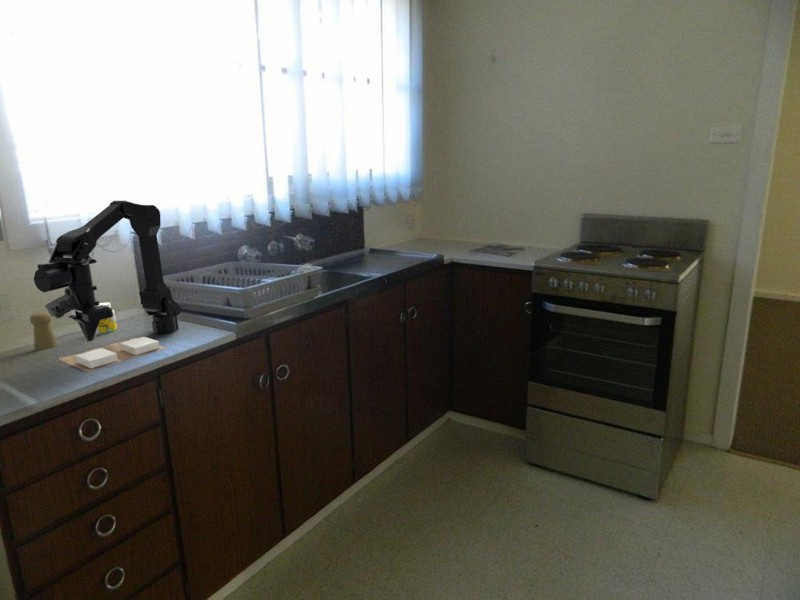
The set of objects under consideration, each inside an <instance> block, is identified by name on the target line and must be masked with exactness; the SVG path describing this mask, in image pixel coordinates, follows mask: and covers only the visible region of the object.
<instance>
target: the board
mask: <svg viewBox="0 0 800 600" xmlns="http://www.w3.org/2000/svg"><path fill="white" fill-rule="evenodd" d="M137 338H138V337H132V338H129V339H124V340H121V341H118V342H114V343H111V344H107V345H103V346H100V347H95V348H91V349H90V350H89V349H88V350H86V351H82V352H78V353H74V354H70V355H68V356H63V357H59V358H58V359H57V360H58V361H61V362H63V363H65V364H68V365H70V366H72V367H74V368H77V369H79V370H81V371H84V372H86V373H88V372H91V371H94V370H98V369H101V368H105V367H108V366H111V365H114V364H119V363H120V362H125V361H127V360H130V359H134V358H137V357H141V356H145V355H147V354H151V353H155V352H157V351H161V350H164V349H167V347H166V346H162V345H160V344H159V346H160V348H158V349H155V350H152V351H148V352H145V353H142V354H138V355H134V354H131V353H128V352H126V351H123V350H121V346H120V343H122V342H126V341H129V340H133V339H137ZM100 348H103V349H106V350H109V351H111V352H114V353H117V359H118V361H115V362H111V363H108V364H105V365H101V366H98V367H95V368H88V367H86V366H84V365H81V364H79V363H77V361H76V356H75V355H79V354H82V353H86V352H90V351H93V350H97V349H100Z"/></svg>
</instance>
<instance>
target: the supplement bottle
mask: <svg viewBox="0 0 800 600" xmlns="http://www.w3.org/2000/svg"><path fill="white" fill-rule="evenodd" d="M100 305H104V306H108V307H110V308H111V307H112V304H111V302H108V301H107V302H99V305H97V306H100ZM111 309H112V310H113V317H111V318H106V319H102V320H100V322H99V324H98V327H97V333H98V335H103V334H108V333H113V332H115V331H116V332H117V330H118V325H117V319H116V313H115V310H114V309H113V308H111Z"/></svg>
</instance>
